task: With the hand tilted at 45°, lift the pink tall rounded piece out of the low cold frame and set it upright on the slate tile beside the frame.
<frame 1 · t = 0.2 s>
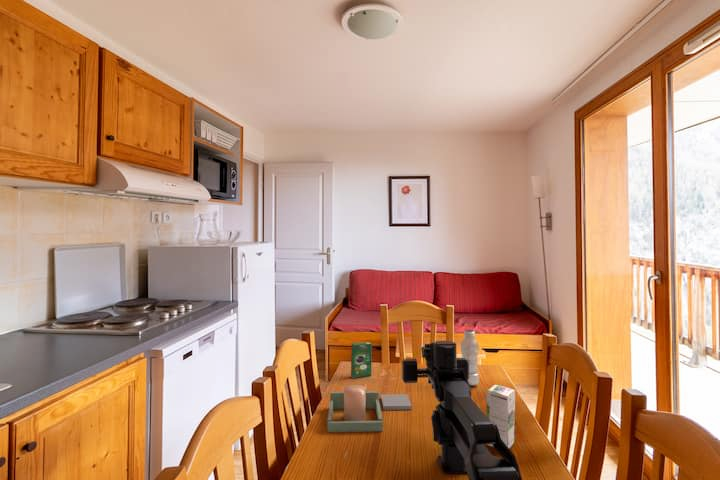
hand: (428, 361, 116), 17 cm above the table, tool horizontal, fingers open, 9 cm apart
plastic bottle: (469, 385, 141), on the table
coffee box: (361, 376, 150), on the table
syrup box: (500, 445, 100), on the table
cold frame: (354, 418, 114), on the table
slate tile: (395, 403, 125), on the table
pink tall rounded piece: (354, 418, 114), resting in cold frame
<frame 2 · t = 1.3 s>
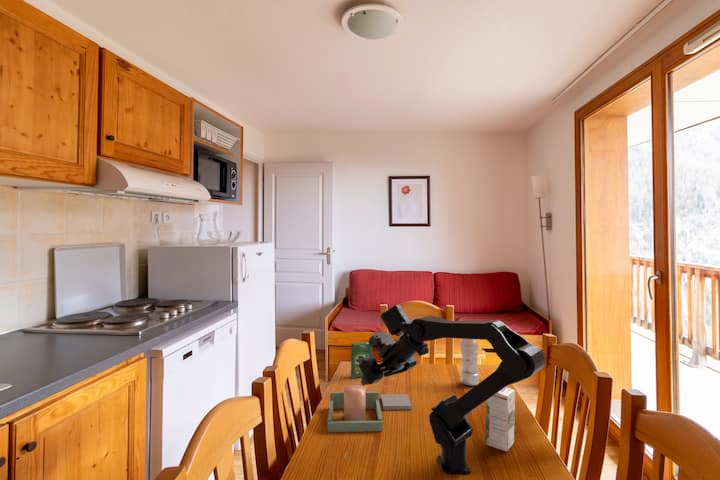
hand: (373, 379, 109), 14 cm above the table, tool tilted 45°, fingers open, 9 cm apart
nothing on the table moved.
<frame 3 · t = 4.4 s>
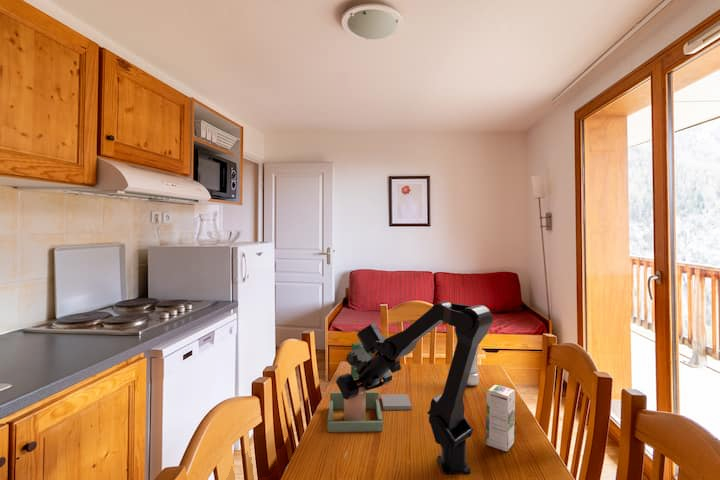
hand: (351, 393, 115), 7 cm above the table, tool tilted 45°, fingers closed on pink tall rounded piece, 6 cm apart
pink tall rounded piece: (354, 418, 114), resting in cold frame, touching gripper
everything else where it was.
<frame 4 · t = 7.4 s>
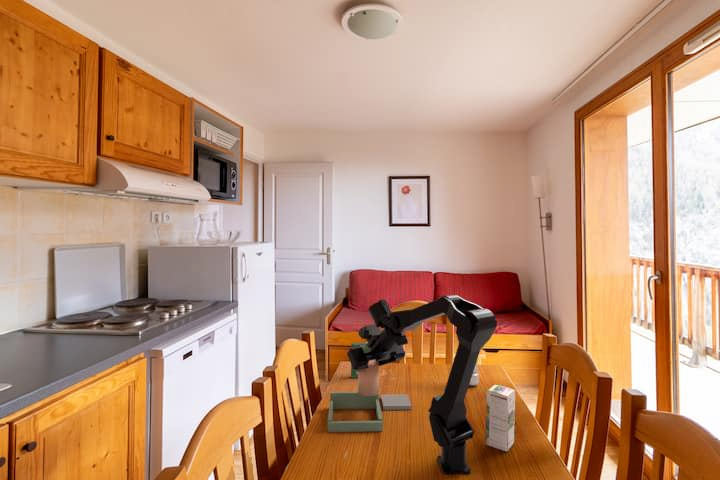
hand: (366, 367, 120), 13 cm above the table, tool tilted 45°, fingers closed on pink tall rounded piece, 6 cm apart
pink tall rounded piece: (368, 391, 119), point 6 cm above the table, touching gripper
everything else where it was.
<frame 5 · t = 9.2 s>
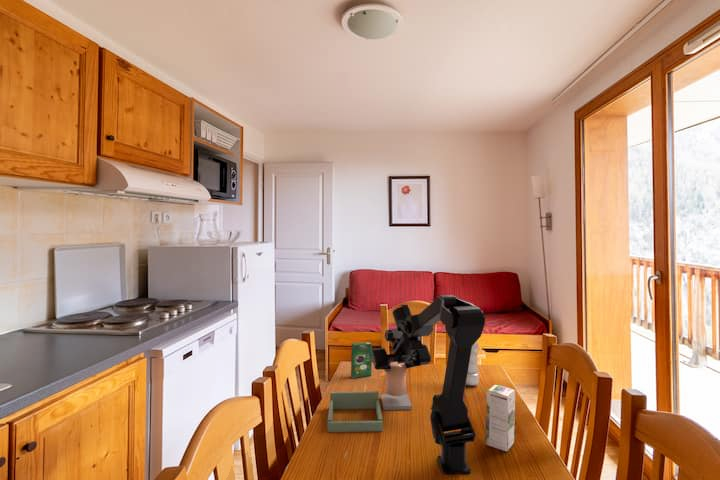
hand: (394, 369, 126), 11 cm above the table, tool tilted 45°, fingers closed on pink tall rounded piece, 6 cm apart
pink tall rounded piece: (396, 392, 124), point 4 cm above the table, touching gripper
everything else where it was.
when the fingers open (9 cm above the table, at t = 10.5 s): pink tall rounded piece stays where it is, resting on slate tile.
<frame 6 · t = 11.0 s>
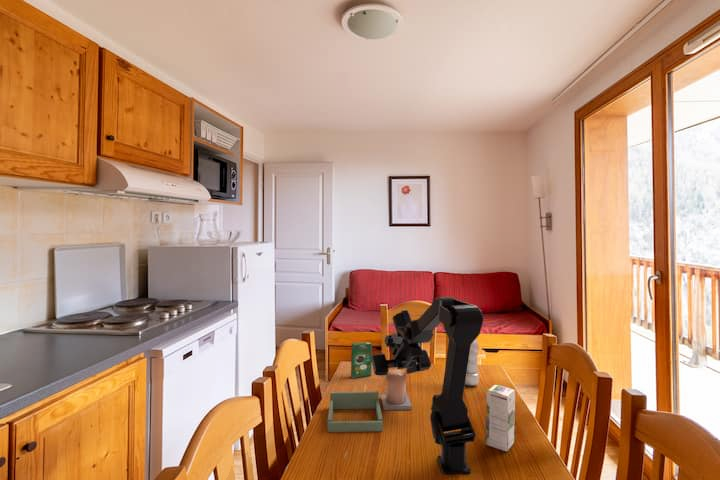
hand: (394, 374, 126), 9 cm above the table, tool tilted 45°, fingers open, 9 cm apart
pink tall rounded piece: (395, 400, 124), point 1 cm above the table, touching slate tile
everything else where it was.
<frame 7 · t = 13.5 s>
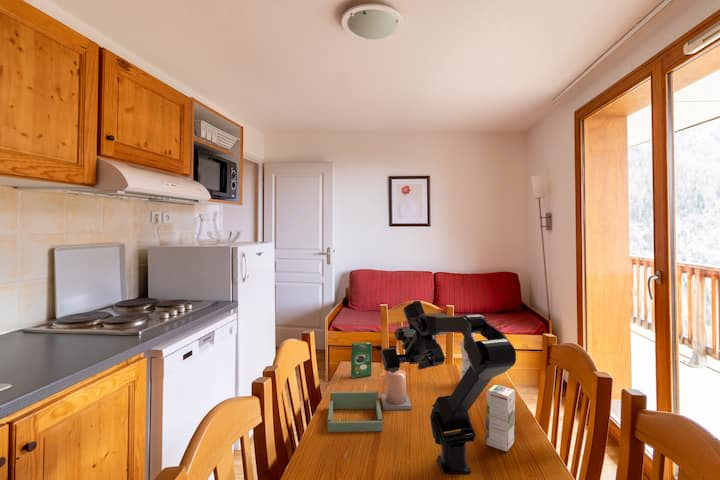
hand: (405, 370, 117), 14 cm above the table, tool tilted 45°, fingers open, 9 cm apart
nothing on the table moved.
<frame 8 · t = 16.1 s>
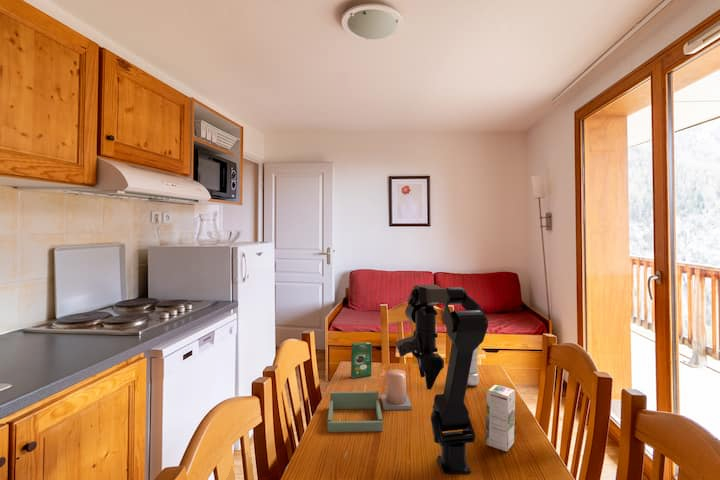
hand: (425, 382, 108), 13 cm above the table, tool pointing down, fingers open, 9 cm apart
nothing on the table moved.
at the end: pink tall rounded piece inside the target area on the slate tile (0.2 cm from its centre), point 1.2 cm above the slate tile's base; pink tall rounded piece tilted 0°; pink tall rounded piece touching slate tile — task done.
